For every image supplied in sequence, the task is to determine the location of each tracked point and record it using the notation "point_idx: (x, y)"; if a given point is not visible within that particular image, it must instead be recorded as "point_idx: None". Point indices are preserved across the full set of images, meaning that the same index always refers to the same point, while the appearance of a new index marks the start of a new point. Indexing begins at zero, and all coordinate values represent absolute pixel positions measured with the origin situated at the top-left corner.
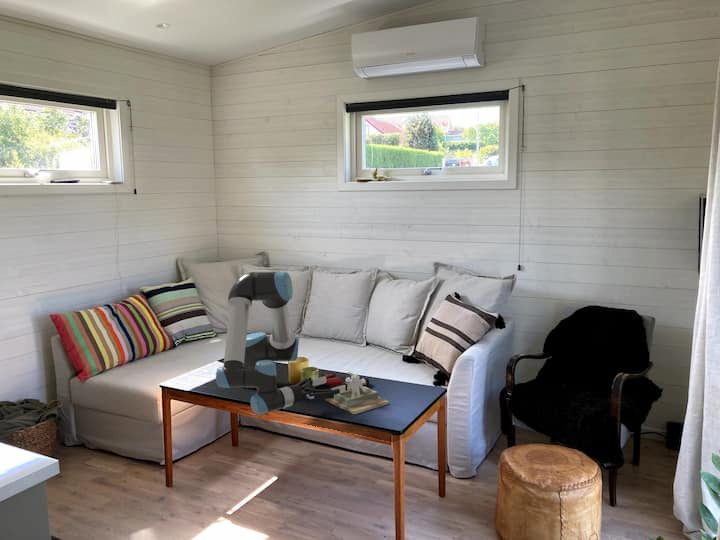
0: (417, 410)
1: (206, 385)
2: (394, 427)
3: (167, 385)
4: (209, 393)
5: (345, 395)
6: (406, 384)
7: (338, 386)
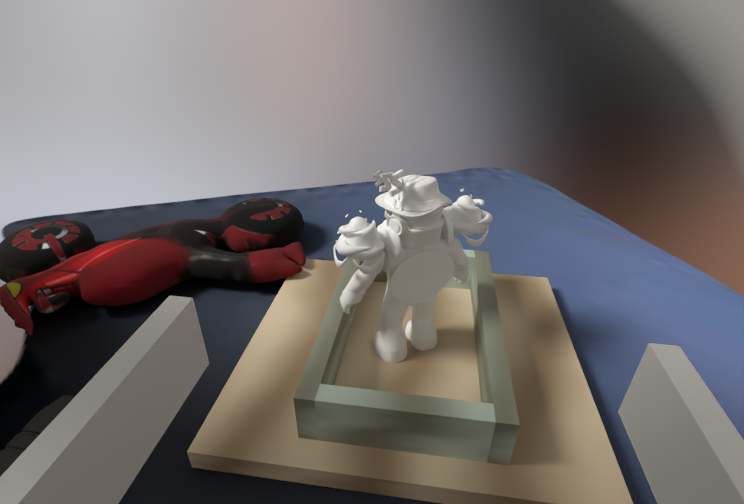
0: (690, 273)
1: None
2: None
3: None
4: None
5: (337, 353)
6: None
7: (704, 435)
